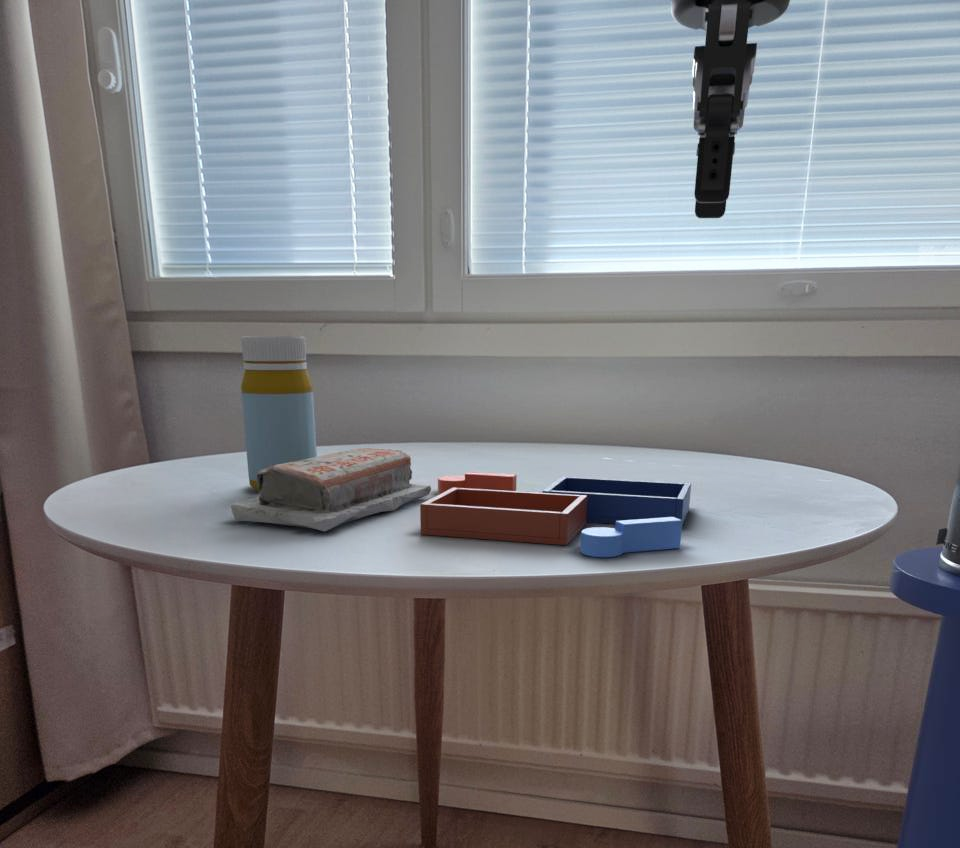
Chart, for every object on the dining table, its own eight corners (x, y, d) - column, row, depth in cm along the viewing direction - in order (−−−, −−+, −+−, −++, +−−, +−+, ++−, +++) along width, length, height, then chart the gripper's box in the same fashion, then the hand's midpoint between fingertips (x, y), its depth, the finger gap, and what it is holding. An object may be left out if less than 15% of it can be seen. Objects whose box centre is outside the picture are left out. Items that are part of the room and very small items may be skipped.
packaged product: (345, 442, 89) (431, 448, 85) (347, 489, 90) (431, 498, 86) (224, 466, 74) (322, 475, 69) (229, 522, 75) (325, 534, 71)
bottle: (323, 483, 94) (315, 336, 89) (312, 495, 87) (302, 337, 82) (259, 483, 94) (246, 336, 89) (242, 494, 87) (228, 336, 82)
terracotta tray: (586, 524, 75) (587, 495, 74) (566, 545, 68) (567, 513, 67) (452, 514, 79) (452, 487, 78) (420, 534, 71) (419, 504, 71)
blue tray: (688, 510, 81) (691, 483, 80) (681, 528, 74) (683, 499, 73) (560, 502, 85) (561, 476, 84) (541, 518, 77) (541, 490, 76)
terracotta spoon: (518, 494, 88) (519, 473, 87) (510, 500, 85) (510, 477, 85) (444, 490, 90) (443, 469, 90) (433, 495, 88) (433, 473, 87)
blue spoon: (665, 541, 69) (667, 514, 69) (686, 551, 66) (688, 522, 66) (573, 549, 67) (574, 520, 66) (591, 559, 64) (592, 529, 63)
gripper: (812, -131, 48) (774, 196, 54) (787, -34, 61) (759, 221, 67) (673, -119, 50) (650, 198, 55) (678, -26, 63) (659, 222, 68)
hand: (710, 210), depth 61 cm, fingers open, 8 cm apart
